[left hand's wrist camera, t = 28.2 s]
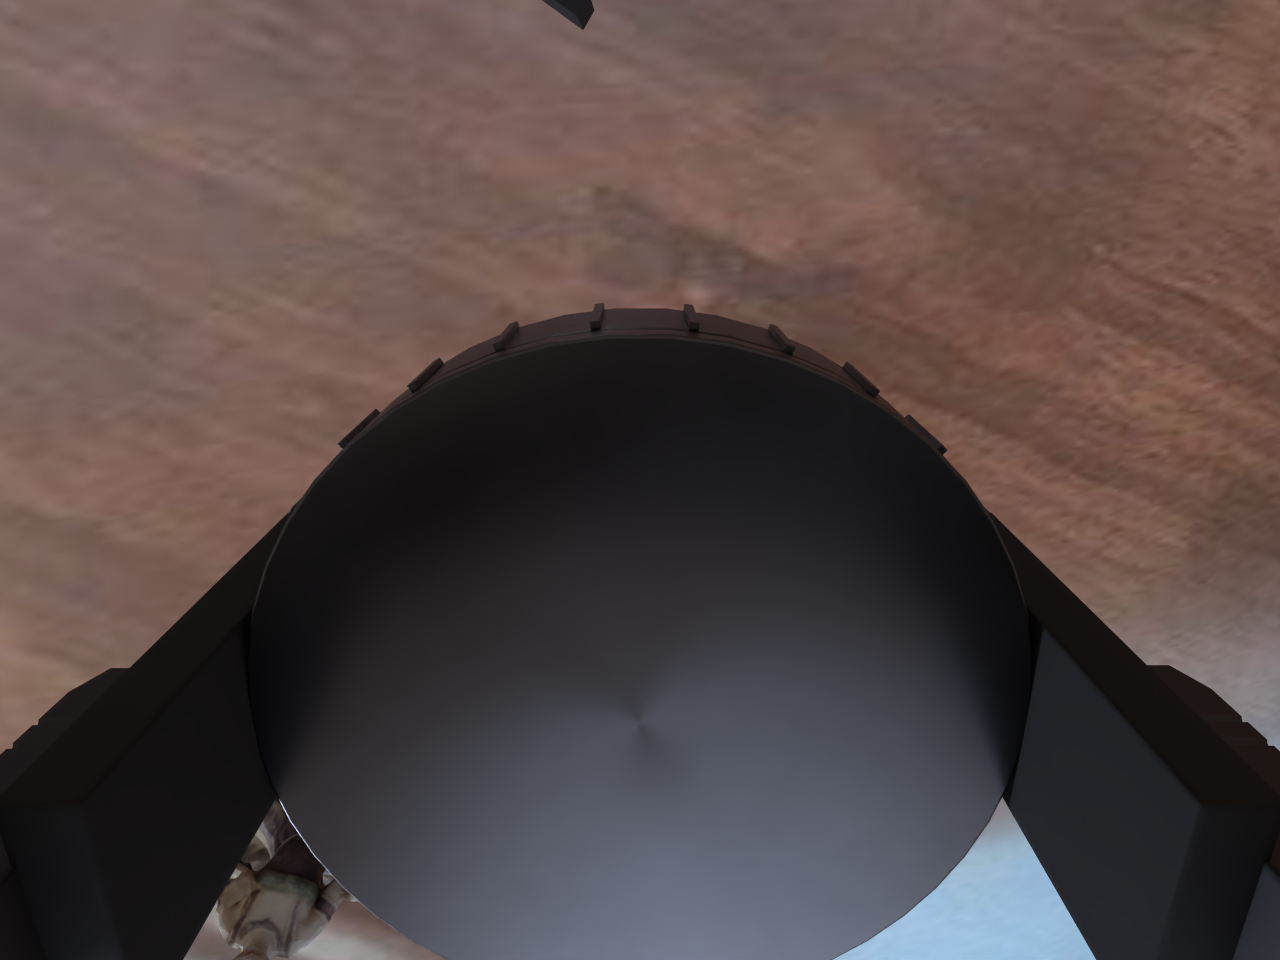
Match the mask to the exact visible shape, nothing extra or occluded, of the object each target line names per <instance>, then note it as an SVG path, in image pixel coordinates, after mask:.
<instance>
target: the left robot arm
mask: <svg viewBox="0 0 1280 960" xmlns="http://www.w3.org/2000/svg"><path fill="white" fill-rule="evenodd" d="M991 515H992V517H993V519H994V523H995V525H996V527H997V529H998V532H999V534H1000V536H1001V538H1002V540H1003V542H1004V544H1005V547H1006V549H1007V551H1008V553H1009V555H1010V557H1011V559H1012V562H1013V564H1014V566H1015V569H1016V573H1017V576H1018V580H1019V583H1020V587H1021V590H1022V594H1023V597H1024V601H1025V604H1026V608H1027V612H1028V620H1029V628H1030V637H1031V645H1032V653H1033V665H1032V692H1031V698H1030V704H1029V709H1028V715H1027V720H1026V725H1025V730H1024V736H1023V741H1022V746H1021V750H1020V754H1019V756H1018V759H1017V762H1016V765H1015V768H1014V771H1013V774H1012V776H1011V779H1010V782H1009V785H1008V787H1007V788H1006V790H1005V792H1004V794H1003V796H1002V797H1003V799H1004V800H1005V802H1006V804H1007V806H1008V807H1009V809H1010V811H1011V813H1012V814H1013V816H1014V818H1015V820H1016V821H1017V823H1018V825H1019V826H1020V828H1021V830H1022V832H1023V833H1024V835H1025V837H1026V839H1027V840H1028V842H1029V844H1030V846H1031V847H1032V849H1033V851H1034V852H1035V854H1036V856H1037V858H1038V859H1039V861H1040V863H1041V865H1042V866H1043V868H1044V870H1045V872H1046V873H1047V875H1048V877H1049V878H1050V880H1051V882H1052V884H1053V885H1054V887H1055V889H1056V891H1057V892H1058V894H1059V896H1060V898H1061V899H1062V901H1063V903H1064V904H1065V906H1066V908H1067V910H1068V911H1069V913H1070V915H1071V917H1072V918H1073V920H1074V922H1075V924H1076V925H1077V927H1078V929H1079V930H1080V932H1081V934H1082V936H1083V937H1084V939H1085V941H1086V943H1087V944H1088V946H1089V948H1090V950H1091V951H1092V953H1093V955H1094V956H1095V958H1096V960H1280V751H1279V750H1278V749H1277V748H1276V747H1274V746H1268V744H1267V739H1266V738H1265V737H1263V736H1262V735H1261V734H1260V733H1259V732H1258V731H1257V730H1256V729H1255V728H1254V727H1252V726H1251V725H1250V724H1249V723H1248V722H1242V716H1240V715H1239V714H1238V713H1237V712H1236V711H1235V710H1234V709H1233V708H1232V707H1231V706H1229V705H1228V704H1227V703H1226V702H1225V701H1224V700H1223V699H1222V698H1221V697H1220V696H1218V695H1217V694H1216V693H1215V692H1214V691H1213V690H1212V689H1210V688H1209V687H1207V686H1205V685H1203V684H1201V683H1200V682H1198V681H1196V680H1194V679H1193V678H1191V677H1189V676H1187V675H1185V674H1184V673H1182V672H1180V671H1178V670H1176V669H1175V668H1173V667H1171V666H1169V665H1146V664H1145V663H1144V662H1143V661H1142V660H1141V659H1140V658H1139V657H1138V656H1137V655H1136V654H1135V653H1134V652H1133V651H1132V650H1131V649H1130V648H1129V647H1128V646H1127V645H1126V644H1125V643H1124V642H1123V641H1122V640H1121V639H1120V638H1119V637H1118V636H1117V635H1115V634H1114V633H1113V632H1112V631H1111V630H1110V629H1109V628H1108V627H1107V626H1106V625H1105V624H1104V623H1103V622H1102V621H1101V620H1100V619H1099V618H1098V617H1097V616H1096V615H1095V614H1094V613H1093V612H1092V611H1091V610H1090V609H1089V608H1088V607H1087V606H1086V605H1085V604H1084V603H1083V602H1082V601H1081V600H1080V599H1079V598H1078V597H1077V596H1076V595H1075V594H1074V593H1073V592H1072V591H1071V590H1070V589H1069V588H1067V587H1066V586H1065V585H1064V584H1063V583H1062V582H1061V581H1060V580H1059V579H1058V578H1057V577H1056V576H1055V575H1054V574H1053V573H1052V572H1051V571H1050V570H1049V569H1048V568H1047V567H1046V566H1045V565H1044V564H1043V563H1042V562H1041V561H1040V560H1039V559H1038V558H1037V557H1036V556H1035V555H1034V554H1033V553H1032V552H1031V551H1030V550H1029V549H1028V548H1027V547H1026V546H1025V545H1024V544H1023V543H1022V542H1020V541H1019V540H1018V539H1017V538H1016V537H1015V536H1014V535H1013V534H1012V533H1011V532H1010V531H1009V530H1008V529H1007V528H1006V527H1005V526H1004V525H1003V524H1002V523H1001V522H1000V521H999V520H998V519H997V518H996V517H995V516H994V515H993V514H992V513H991ZM289 517H290V514H289V513H288V514H287V515H285V516H284V517H283V518H282V519H281V520H280V521H279V522H278V523H277V524H276V525H275V526H274V527H273V528H272V529H271V530H270V531H269V532H268V533H267V534H266V535H265V536H264V537H263V538H262V539H261V540H260V541H259V542H258V543H257V544H256V545H255V546H254V547H253V548H252V549H251V550H250V551H249V552H248V553H247V554H246V555H245V556H244V557H243V558H242V559H241V560H240V561H238V562H237V563H236V564H235V565H234V566H233V567H232V568H231V569H230V570H229V571H228V572H227V573H226V574H225V575H224V576H223V577H222V578H221V579H220V580H219V581H218V582H217V583H216V584H215V585H214V586H213V587H212V588H211V589H210V590H209V591H208V592H207V593H206V594H205V595H204V596H203V597H202V598H201V599H200V600H199V601H198V602H197V603H196V604H195V605H194V606H193V607H192V608H190V609H189V610H188V611H187V612H186V613H185V614H184V615H183V616H182V617H181V618H180V619H179V620H178V621H177V622H176V623H175V624H174V625H173V626H172V627H171V628H170V629H169V630H168V631H167V632H166V633H165V634H164V635H163V636H162V637H161V638H160V639H159V640H158V641H157V642H156V643H155V644H154V645H153V646H152V647H151V648H150V649H149V650H148V651H147V652H146V653H145V654H143V655H142V656H141V657H140V658H139V659H138V660H137V661H136V662H135V663H134V664H133V665H132V666H131V667H130V668H111V669H109V670H107V671H105V672H103V673H102V674H100V675H98V676H96V677H95V678H93V679H91V680H89V681H87V682H86V683H84V684H82V685H80V686H79V687H77V688H75V689H73V690H71V691H70V692H68V693H67V694H66V695H65V696H64V697H63V698H62V699H61V700H60V701H58V702H57V703H56V704H55V705H54V706H53V707H52V708H51V709H50V710H49V711H48V712H46V713H45V714H44V715H43V716H42V717H41V718H40V719H39V723H38V725H32V726H31V727H30V728H29V729H28V730H27V731H26V732H25V733H24V734H22V735H21V736H20V737H19V738H18V739H17V740H16V741H15V742H14V743H13V748H12V749H6V750H5V751H4V752H3V753H2V754H1V755H0V960H183V959H184V957H185V955H186V954H187V952H188V950H189V949H190V947H191V945H192V943H193V942H194V940H195V938H196V936H197V935H198V933H199V931H200V929H201V928H202V926H203V924H204V923H205V921H206V919H207V917H208V916H209V914H210V912H211V910H212V909H213V907H214V905H215V903H216V902H217V900H218V898H219V897H220V895H221V893H222V891H223V890H224V888H225V886H226V884H227V883H228V881H229V879H230V878H231V876H232V874H233V872H234V871H235V869H236V867H237V865H238V864H239V862H240V860H241V858H242V857H243V855H244V853H245V852H246V850H247V848H248V846H249V845H250V843H251V841H252V839H253V838H254V836H255V834H256V832H257V831H258V829H259V827H260V826H261V824H262V822H263V820H264V819H265V817H266V815H267V813H268V812H269V810H270V808H271V806H272V805H273V803H274V801H275V800H276V798H277V795H276V793H275V791H274V789H273V787H272V785H271V783H270V781H269V778H268V775H267V772H266V769H265V766H264V763H263V760H262V758H261V755H260V752H259V749H258V744H257V739H256V734H255V729H254V724H253V718H252V713H251V708H250V703H249V697H248V674H247V650H248V642H249V634H250V626H251V618H252V610H253V607H254V603H255V600H256V596H257V593H258V589H259V586H260V582H261V579H262V575H263V572H264V569H265V565H266V563H267V561H268V559H269V557H270V555H271V552H272V550H273V548H274V546H275V544H276V542H277V540H278V538H279V535H280V533H281V531H282V529H283V527H284V525H285V523H286V521H287V519H288V518H289Z"/></svg>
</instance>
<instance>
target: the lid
mask: <svg viewBox="0 0 1280 960" xmlns="http://www.w3.org/2000/svg"><path fill="white" fill-rule="evenodd" d="M407 387H408V389H407V390H406V391H405V392H404V393H402V394H401V395H400V396H399V397H397V398H396V399H395V400H394V401H393V402H391V403H390V404H389V405H388V406H387V407H386V408H385V409H384V410H383V411H382V412H381V413H380V412H379V411H378V410H377V409H375V410H374V411H373V412H372V413H371V414H370V415H369V416H367V417H366V418H365V419H364V420H363V421H362V422H361V423H360V424H359V425H358V426H356V427H355V428H354V429H353V430H352V431H351V432H350V433H349V434H348V435H347V436H345V437H344V438H343V439H342V440H341V441H340V442H339V443H338V445H339V446H340V447H341V448H342V449H343V450H342V451H341V452H340V453H339V454H338V455H337V456H336V457H335V458H334V459H333V460H332V461H331V463H330V464H329V465H328V466H327V467H326V468H325V469H324V470H323V471H322V472H321V473H320V474H319V475H318V477H317V478H316V479H315V480H314V481H313V483H312V484H311V486H310V487H309V488H308V490H307V491H306V493H305V494H304V496H303V497H302V498H301V499H300V500H299V501H298V502H297V503H296V504H295V505H294V506H293V507H292V509H291V510H290V512H289V514H290V517H289V518H288V519H287V521H286V523H285V525H284V527H283V529H282V531H281V533H280V535H279V538H278V540H277V542H276V544H275V546H274V548H273V550H272V552H271V555H270V557H269V559H268V561H267V563H266V565H265V569H264V572H263V575H262V579H261V582H260V586H259V589H258V593H257V596H256V600H255V603H254V607H253V610H252V618H251V626H250V634H249V642H248V650H247V674H248V697H249V703H250V708H251V713H252V718H253V724H254V729H255V734H256V739H257V744H258V749H259V752H260V755H261V758H262V760H263V763H264V766H265V769H266V772H267V775H268V778H269V781H270V783H271V785H272V787H273V789H274V791H275V793H276V795H277V797H278V799H279V801H280V803H281V805H282V807H283V809H284V811H285V813H286V814H287V816H288V818H289V820H290V822H291V823H292V825H293V826H294V828H295V829H296V831H297V832H298V833H299V835H300V836H301V838H302V839H303V841H304V842H305V843H306V845H307V846H308V848H309V849H310V851H311V852H312V853H313V855H314V856H315V857H316V859H317V860H318V861H319V862H320V863H321V864H322V865H323V866H324V867H325V868H326V870H327V871H328V872H329V873H330V874H331V875H332V876H333V877H334V878H335V879H336V881H337V882H338V883H339V884H340V885H341V886H342V887H343V888H344V889H345V890H346V891H347V892H348V893H350V894H351V895H352V896H353V897H354V898H355V899H356V900H358V901H359V902H360V903H361V904H362V905H363V906H365V907H366V908H367V909H368V910H369V911H370V912H371V913H373V914H374V915H375V916H376V917H378V918H379V919H381V920H382V921H384V922H385V923H386V924H388V925H389V926H391V927H392V928H394V929H395V930H397V931H398V932H400V933H401V934H403V935H404V936H405V937H407V938H408V939H410V940H411V941H413V942H415V943H417V944H419V945H421V946H423V947H424V948H426V949H428V950H430V951H432V952H434V953H436V954H437V955H439V956H441V957H443V958H445V959H447V960H833V959H834V958H836V957H838V956H840V955H842V954H844V953H846V952H848V951H849V950H851V949H853V948H855V947H857V946H859V945H861V944H863V943H864V942H866V941H868V940H870V939H871V938H872V937H874V936H875V935H877V934H878V933H880V932H881V931H883V930H884V929H886V928H887V927H889V926H890V925H892V924H893V923H894V922H896V921H897V920H899V919H900V918H902V917H903V916H904V915H906V914H907V913H908V912H909V911H910V910H911V909H913V908H914V907H915V906H916V905H917V904H918V903H920V902H921V901H922V900H923V899H924V898H925V897H926V896H928V895H929V894H930V893H931V892H932V891H933V890H935V889H936V888H937V887H938V886H939V884H940V883H941V882H942V881H943V880H944V879H945V878H946V877H947V876H948V875H949V873H950V872H951V871H952V870H953V869H954V868H955V867H956V866H957V865H958V864H959V862H960V861H961V860H962V859H963V858H964V857H965V856H966V854H967V853H968V851H969V850H970V848H971V847H972V846H973V844H974V843H975V841H976V840H977V839H978V837H979V836H980V834H981V833H982V831H983V830H984V829H985V827H986V826H987V824H988V823H989V821H990V819H991V817H992V815H993V814H994V812H995V810H996V808H997V806H998V804H999V802H1000V800H1001V798H1002V796H1003V794H1004V792H1005V790H1006V788H1007V787H1008V785H1009V782H1010V779H1011V776H1012V774H1013V771H1014V768H1015V765H1016V762H1017V759H1018V756H1019V754H1020V750H1021V746H1022V741H1023V736H1024V730H1025V725H1026V720H1027V715H1028V709H1029V704H1030V698H1031V692H1032V665H1033V653H1032V645H1031V637H1030V628H1029V620H1028V612H1027V608H1026V604H1025V601H1024V597H1023V594H1022V590H1021V587H1020V583H1019V580H1018V576H1017V573H1016V569H1015V566H1014V564H1013V562H1012V559H1011V557H1010V555H1009V553H1008V551H1007V549H1006V547H1005V544H1004V542H1003V540H1002V538H1001V536H1000V534H999V532H998V529H997V527H996V525H995V523H994V519H993V517H992V515H991V513H990V512H989V511H988V510H987V509H986V508H985V507H984V506H983V505H982V504H981V502H980V501H979V499H978V498H977V496H976V495H975V493H974V492H973V490H972V489H971V487H970V486H969V484H968V483H967V481H966V480H965V479H964V478H963V477H962V476H961V475H960V474H959V472H958V471H957V470H956V469H955V468H954V467H953V466H952V465H951V464H950V463H949V462H948V461H947V459H946V458H945V457H944V456H943V454H944V453H945V452H946V451H947V449H946V448H945V447H944V446H943V445H942V444H941V443H940V442H939V441H938V440H937V439H936V438H934V437H933V436H932V435H931V434H930V433H929V432H928V431H927V430H926V429H925V428H924V427H922V426H921V425H920V424H919V423H918V422H917V421H916V420H915V419H914V418H913V417H911V416H910V415H907V416H906V417H905V418H904V417H903V416H902V415H901V414H900V413H899V412H898V411H897V410H896V409H895V408H894V407H893V406H891V405H890V404H889V403H888V402H887V401H886V400H885V399H883V398H882V397H881V396H880V395H878V393H879V392H880V390H879V389H878V388H876V387H875V386H874V385H873V384H872V383H871V382H870V381H869V380H868V379H867V378H866V377H865V376H863V375H862V374H861V373H860V372H859V371H858V370H857V369H856V368H855V367H854V366H852V365H851V364H850V363H848V362H846V363H845V365H844V366H843V367H841V366H840V365H838V364H836V363H835V362H833V361H831V360H830V359H828V358H826V357H825V356H823V355H821V354H820V353H818V352H816V351H815V350H813V349H811V348H809V347H807V346H805V345H802V344H800V343H798V342H795V341H793V340H791V339H788V338H787V337H786V336H785V334H784V333H783V332H782V331H781V330H780V329H779V328H778V326H775V325H772V324H770V326H769V328H768V330H767V329H765V328H761V327H757V326H754V325H750V324H746V323H743V322H739V321H735V320H732V319H728V318H724V317H721V316H717V315H710V314H703V313H696V312H695V310H694V307H693V305H689V304H684V310H683V311H680V310H673V309H628V308H615V309H607V310H605V309H604V303H600V304H595V307H594V310H593V311H592V312H584V313H577V314H569V315H563V316H559V317H556V318H552V319H548V320H545V321H541V322H537V323H533V324H530V325H526V326H522V327H519V325H518V322H514V323H511V324H509V325H508V327H507V328H506V329H505V330H504V331H503V333H502V334H501V335H499V336H496V337H494V338H492V339H489V340H487V341H484V342H482V343H480V344H477V345H475V346H473V347H470V348H469V349H467V350H465V351H464V352H462V353H460V354H459V355H457V356H455V357H454V358H452V359H450V360H448V361H447V362H445V363H443V362H442V360H441V359H440V358H438V359H436V360H435V361H433V362H432V363H431V364H430V365H429V366H428V367H427V368H426V369H425V370H424V371H423V372H421V373H420V374H419V375H418V376H417V377H416V378H415V379H414V380H413V381H412V382H411V383H410V384H409V385H408V386H407Z"/></svg>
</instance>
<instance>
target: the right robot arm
mask: <svg viewBox="0 0 1280 960" xmlns="http://www.w3.org/2000/svg"><path fill="white" fill-rule="evenodd" d="M543 1H544V2H545V3H547V4H548V5H549V6H551V7H552V8H554V9H555V10H556V11H558V12H559V13H560V14H562V15H563V16H564V17H566V18H567V19H569V20H570V21H571V22H573V23H574V24H575V25H577V26H578V27H580V28H581V29H582V30H584V28H585V26H586V24H587V22H588V21H589V19H590V17H591V15H592V14H593V12H594V8H593V5H592V1H591V0H543Z"/></svg>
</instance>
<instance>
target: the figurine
mask: <svg viewBox="0 0 1280 960" xmlns="http://www.w3.org/2000/svg"><path fill="white" fill-rule="evenodd" d="M345 897H346V899H347V900H348V901H350V902H354V901H358V900H356V899H355V898H354V897H353V896H352V895H351V894H350V893H348V892H347V891H346V890H345V889H344V888H343V887H342V886H341V885H340V884H339V883H338V882H337V881H336V879H335V878H334V877H333V876H332V875H331V874H330V873H329V872H328V871H327V870H326V868H325V867H324V866H323V865H322V864H321V863H320V862H319V861H318V860H317V859H316V857H315V856H314V855H313V853H312V852H311V851H310V849H309V848H308V846H307V845H306V843H305V842H304V841H303V839H302V838H301V836H300V835H299V833H298V832H297V831H296V829H295V828H294V826H293V825H292V823H291V822H290V820H289V818H288V816H287V814H286V813H285V811H284V809H283V807H282V805H281V803H280V801H279V799H278V797H277V798H276V800H275V801H274V803H273V805H272V806H271V808H270V810H269V812H268V813H267V815H266V817H265V819H264V820H263V822H262V824H261V826H260V827H259V829H258V831H257V832H256V834H255V836H254V838H253V839H252V841H251V843H250V845H249V846H248V848H247V850H246V852H245V853H244V855H243V857H242V858H241V860H240V862H239V864H238V865H237V867H236V869H235V871H234V872H233V874H232V876H231V878H230V879H229V881H228V883H227V884H226V886H225V888H224V890H223V891H222V893H221V895H220V897H219V898H218V900H217V902H216V905H217V909H216V912H217V914H218V917H219V928H220V931H221V934H222V936H223V938H224V940H225V941H226V943H227V944H228V945H229V946H230V947H232V948H237V949H240V954H239V955H238V956H236V957H235V958H234V959H233V960H269V959H268V958H272V957H277V956H279V957H284V958H288V959H290V958H291V956H292V955H293V954H294V953H296V952H297V951H299V950H301V949H302V948H304V947H305V946H307V945H308V944H309V943H310V942H311V941H312V940H313V939H314V938H315V937H316V936H317V935H318V934H319V933H320V932H321V931H322V930H323V929H324V927H325V926H326V925H327V924H329V921H330V919H331V916H332V915H333V913H334V912H335V910H336V909H337V907H338V906H339V904H340V903H341V902H342V900H343V899H344V898H345Z"/></svg>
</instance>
